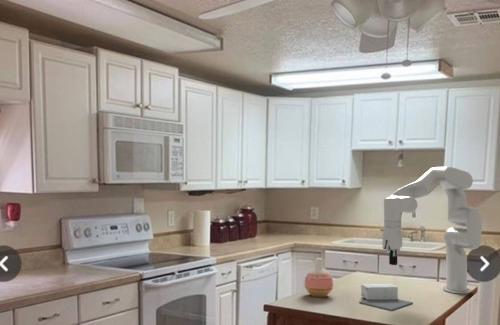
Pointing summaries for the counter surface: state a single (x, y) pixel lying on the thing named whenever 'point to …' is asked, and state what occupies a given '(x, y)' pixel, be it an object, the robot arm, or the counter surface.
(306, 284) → the vase
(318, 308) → the counter surface
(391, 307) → the mat
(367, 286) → the skincare box
